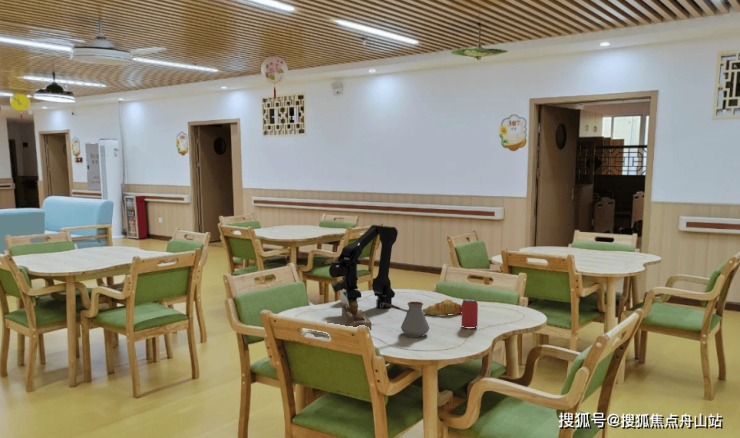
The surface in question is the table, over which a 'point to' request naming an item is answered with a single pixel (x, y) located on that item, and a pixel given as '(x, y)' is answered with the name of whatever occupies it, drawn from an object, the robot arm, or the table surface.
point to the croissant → (443, 308)
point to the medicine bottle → (344, 298)
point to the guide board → (355, 318)
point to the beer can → (469, 312)
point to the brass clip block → (352, 306)
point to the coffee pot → (413, 319)
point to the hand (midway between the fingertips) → (350, 309)
